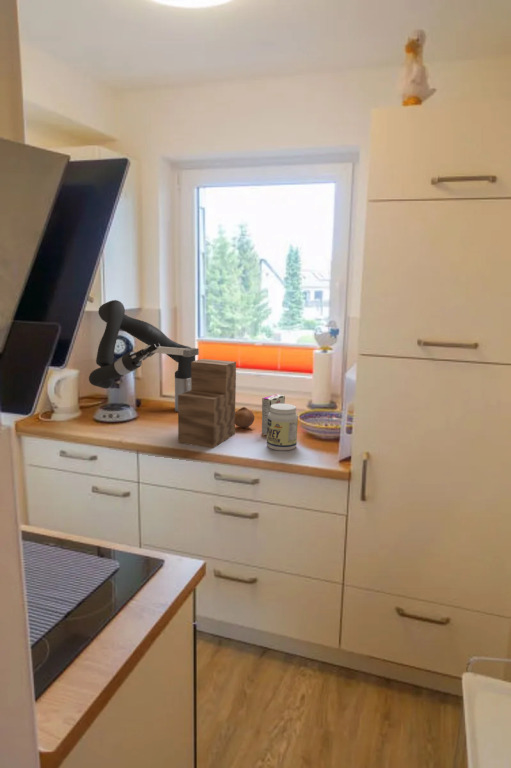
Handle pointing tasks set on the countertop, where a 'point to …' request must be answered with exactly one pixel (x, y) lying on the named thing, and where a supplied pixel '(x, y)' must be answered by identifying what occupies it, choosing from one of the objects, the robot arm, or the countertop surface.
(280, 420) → the supplement tub
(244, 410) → the onion
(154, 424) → the countertop surface
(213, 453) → the countertop surface
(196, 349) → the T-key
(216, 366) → the brown wooden stepped block
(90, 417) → the countertop surface
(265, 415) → the candy bar box
